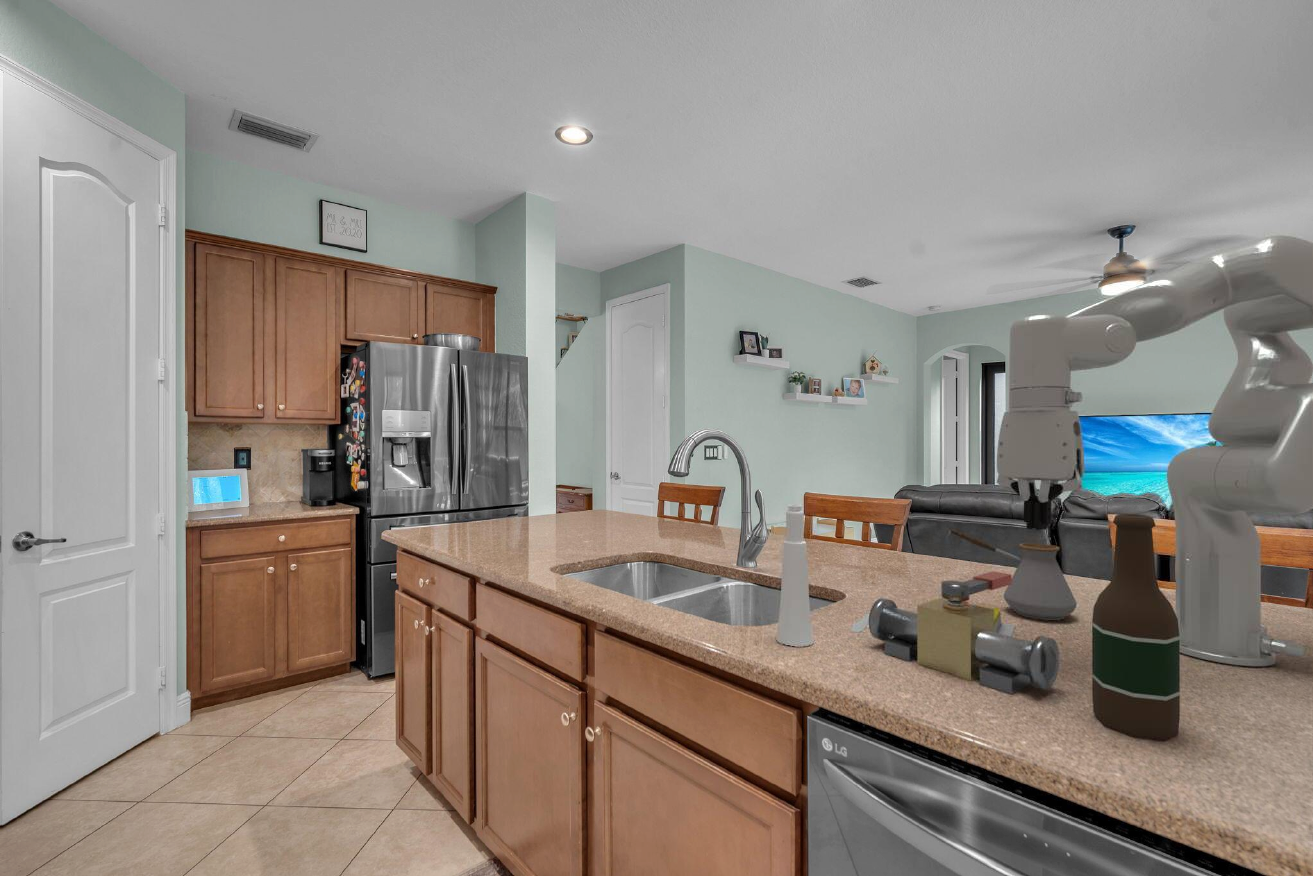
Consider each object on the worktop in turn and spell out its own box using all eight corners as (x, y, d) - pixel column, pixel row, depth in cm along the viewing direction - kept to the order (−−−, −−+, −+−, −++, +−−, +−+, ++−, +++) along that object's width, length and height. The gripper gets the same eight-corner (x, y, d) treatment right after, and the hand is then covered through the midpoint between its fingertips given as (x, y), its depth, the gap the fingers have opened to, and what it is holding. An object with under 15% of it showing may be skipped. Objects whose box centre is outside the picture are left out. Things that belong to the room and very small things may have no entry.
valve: (1060, 688, 78) (1060, 615, 78) (1037, 702, 74) (1037, 625, 74) (892, 639, 97) (892, 581, 97) (867, 648, 93) (867, 587, 93)
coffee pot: (1072, 611, 113) (1072, 532, 113) (1081, 627, 103) (1081, 541, 103) (947, 597, 123) (947, 524, 123) (944, 611, 113) (944, 532, 113)
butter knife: (842, 629, 102) (860, 631, 100) (875, 595, 125) (890, 597, 123) (842, 632, 102) (860, 634, 100) (875, 598, 125) (890, 600, 123)
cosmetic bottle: (803, 633, 100) (803, 502, 100) (820, 645, 94) (820, 506, 94) (769, 636, 99) (769, 503, 99) (785, 648, 93) (785, 507, 93)
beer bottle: (1075, 710, 71) (1075, 511, 72) (1135, 708, 72) (1135, 510, 72) (1132, 743, 64) (1132, 519, 64) (1199, 740, 64) (1198, 519, 64)
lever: (1014, 585, 93) (1014, 572, 93) (961, 602, 83) (961, 588, 83) (990, 580, 96) (990, 568, 96) (936, 596, 86) (936, 583, 86)
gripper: (1110, 401, 82) (1108, 533, 82) (996, 405, 94) (994, 521, 94) (1090, 398, 78) (1088, 538, 78) (973, 403, 90) (971, 524, 90)
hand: (1037, 528), depth 86 cm, fingers closed
